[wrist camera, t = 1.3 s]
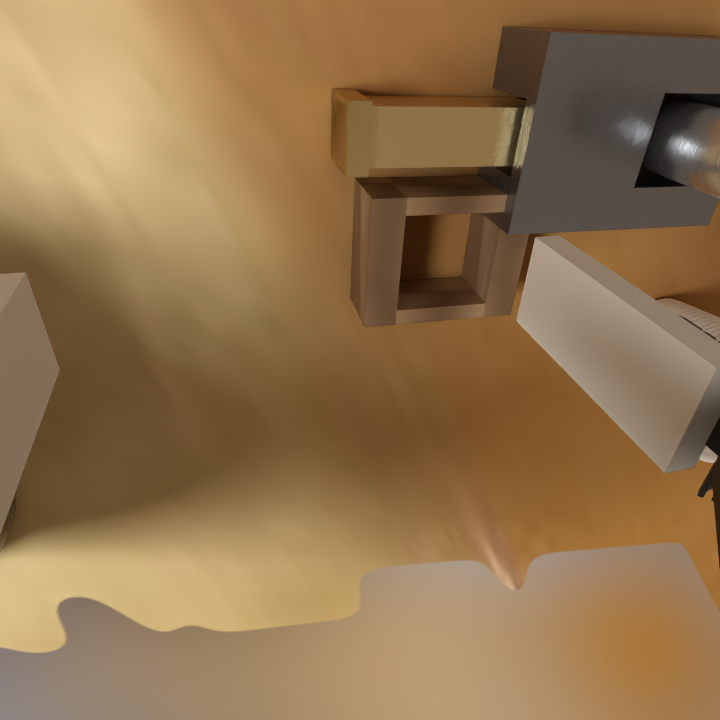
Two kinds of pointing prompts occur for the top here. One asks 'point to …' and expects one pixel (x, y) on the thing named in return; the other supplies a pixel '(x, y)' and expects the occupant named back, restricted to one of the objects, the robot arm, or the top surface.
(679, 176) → the cylinder
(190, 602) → the top surface
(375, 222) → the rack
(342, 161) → the tan square peg
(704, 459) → the cup
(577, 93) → the socket block
